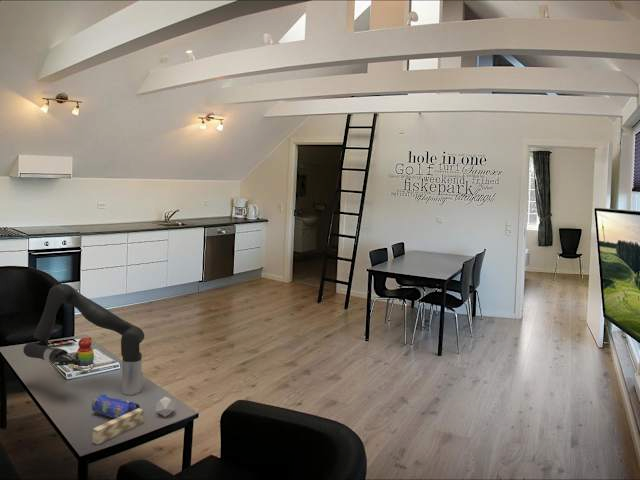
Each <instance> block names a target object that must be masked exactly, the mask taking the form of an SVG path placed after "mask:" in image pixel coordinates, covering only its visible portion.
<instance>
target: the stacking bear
mask: <svg viewBox="0 0 640 480" xmlns="http://www.w3.org/2000/svg"><path fill="white" fill-rule="evenodd" d="M92 344H93V343H92V337H91V336H89V337H82V338H80V339H79V341H78V349H77V351H76V353H79V360H80V365H78V366H88V365H91V364H94V359H95V353H94V349H93V347H92Z"/></svg>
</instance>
